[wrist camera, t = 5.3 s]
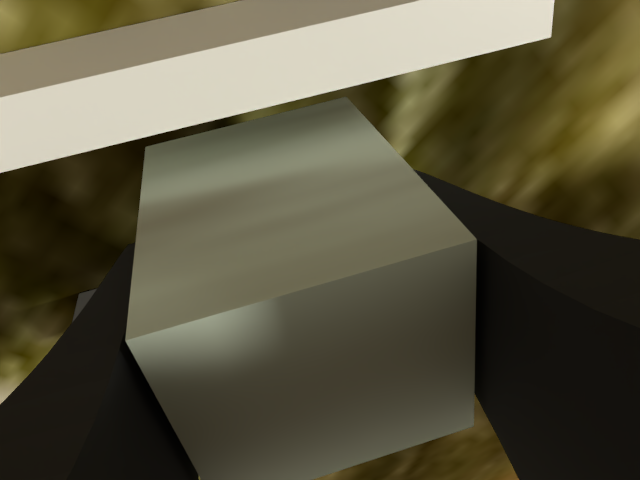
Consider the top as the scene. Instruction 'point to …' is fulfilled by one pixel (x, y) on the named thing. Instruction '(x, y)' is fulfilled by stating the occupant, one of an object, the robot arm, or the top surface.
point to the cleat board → (233, 66)
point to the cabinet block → (300, 297)
